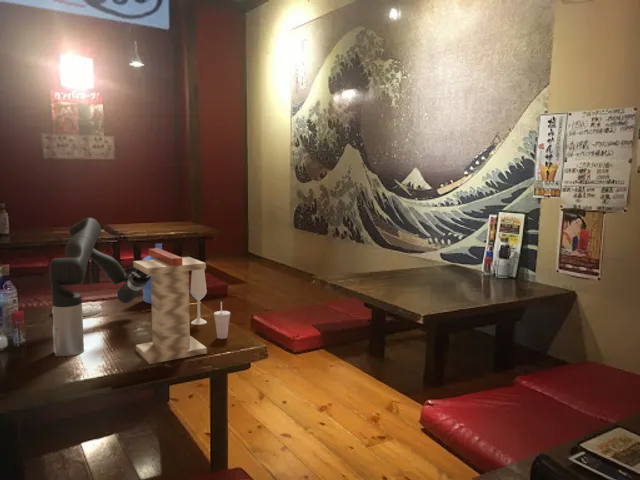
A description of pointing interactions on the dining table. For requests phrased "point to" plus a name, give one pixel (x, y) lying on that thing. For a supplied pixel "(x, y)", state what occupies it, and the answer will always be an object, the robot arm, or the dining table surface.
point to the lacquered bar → (165, 257)
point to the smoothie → (222, 323)
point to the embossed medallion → (90, 308)
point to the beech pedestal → (170, 311)
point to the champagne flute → (198, 292)
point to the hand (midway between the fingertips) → (148, 264)
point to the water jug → (148, 286)
